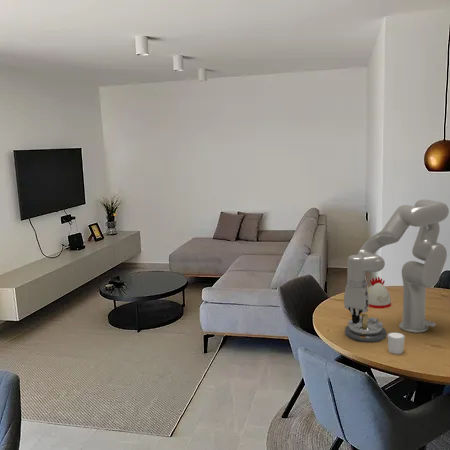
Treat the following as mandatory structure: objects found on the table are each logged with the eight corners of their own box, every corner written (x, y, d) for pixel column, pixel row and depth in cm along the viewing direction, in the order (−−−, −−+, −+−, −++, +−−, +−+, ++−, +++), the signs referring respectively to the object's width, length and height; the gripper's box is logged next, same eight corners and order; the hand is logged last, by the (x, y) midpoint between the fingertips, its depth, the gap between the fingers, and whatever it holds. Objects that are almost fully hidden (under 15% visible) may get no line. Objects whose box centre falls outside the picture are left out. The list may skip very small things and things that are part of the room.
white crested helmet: (359, 301, 264) (359, 274, 262) (382, 298, 267) (382, 272, 264) (371, 309, 251) (372, 281, 248) (396, 306, 253) (396, 279, 251)
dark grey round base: (387, 329, 225) (387, 324, 225) (384, 344, 209) (384, 339, 208) (348, 324, 232) (348, 320, 232) (342, 339, 216) (342, 334, 215)
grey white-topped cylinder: (390, 346, 207) (391, 330, 206) (406, 350, 203) (407, 334, 201) (384, 352, 202) (384, 336, 201) (401, 356, 197) (401, 339, 196)
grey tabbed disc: (350, 322, 229) (350, 303, 228) (383, 324, 224) (383, 306, 223) (347, 334, 216) (347, 314, 214) (382, 337, 211) (382, 317, 209)
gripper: (376, 283, 210) (375, 323, 214) (344, 278, 220) (344, 316, 223) (368, 288, 205) (367, 329, 208) (336, 282, 215) (336, 321, 218)
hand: (355, 322), depth 216 cm, fingers closed
